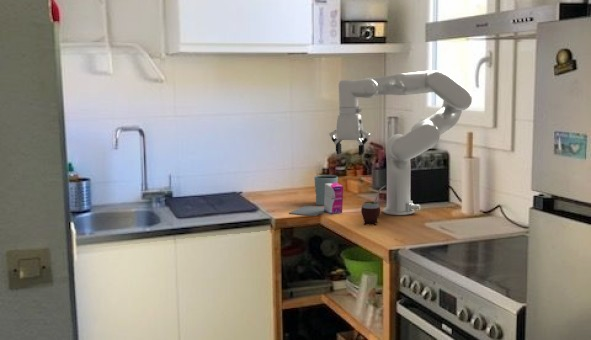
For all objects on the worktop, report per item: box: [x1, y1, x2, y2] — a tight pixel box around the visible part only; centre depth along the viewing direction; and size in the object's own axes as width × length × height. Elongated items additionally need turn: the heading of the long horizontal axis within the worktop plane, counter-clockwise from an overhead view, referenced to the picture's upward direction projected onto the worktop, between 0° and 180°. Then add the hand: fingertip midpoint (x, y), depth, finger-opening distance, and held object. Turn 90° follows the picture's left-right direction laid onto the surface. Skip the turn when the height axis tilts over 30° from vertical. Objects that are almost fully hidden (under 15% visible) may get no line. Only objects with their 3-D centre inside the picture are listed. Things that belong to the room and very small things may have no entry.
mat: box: [288, 205, 326, 217], centre depth 268 cm, size 12×15×1 cm
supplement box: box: [323, 182, 344, 215], centre depth 264 cm, size 6×6×12 cm
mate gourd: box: [360, 184, 387, 226], centre depth 244 cm, size 8×8×15 cm
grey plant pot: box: [313, 174, 339, 207], centre depth 281 cm, size 10×10×12 cm
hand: (350, 154), depth 259 cm, fingers open, 9 cm apart
